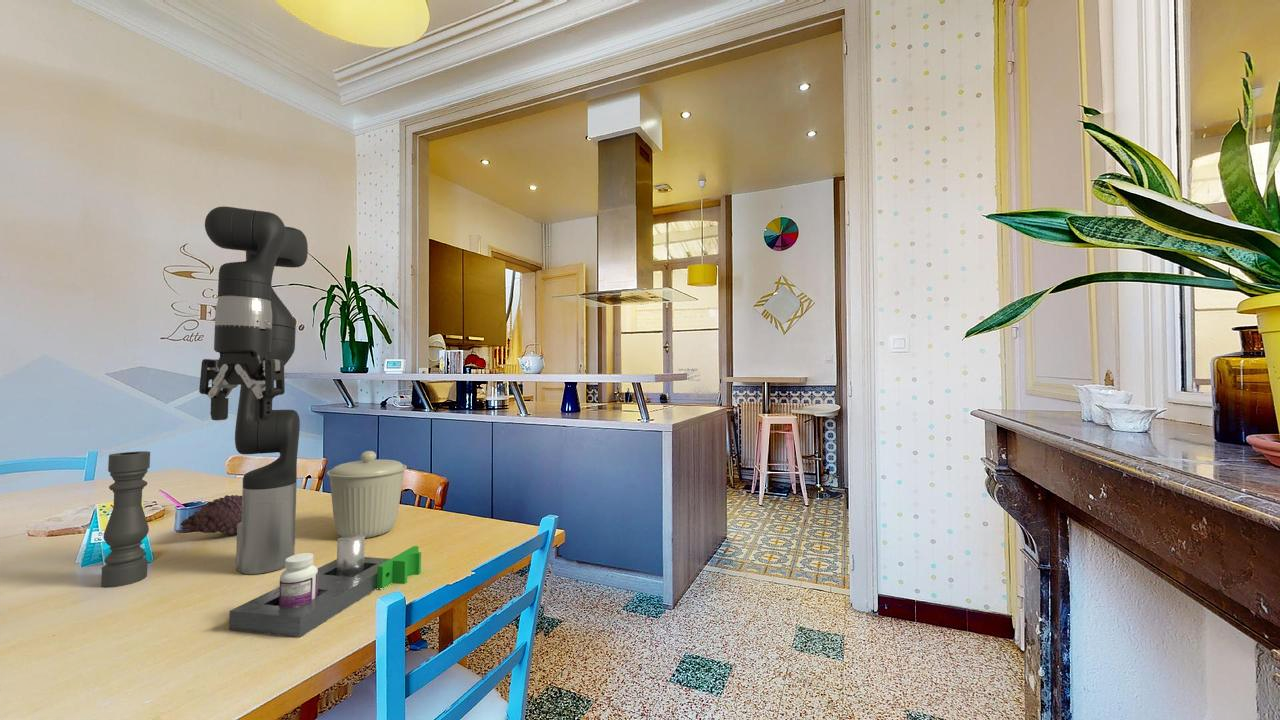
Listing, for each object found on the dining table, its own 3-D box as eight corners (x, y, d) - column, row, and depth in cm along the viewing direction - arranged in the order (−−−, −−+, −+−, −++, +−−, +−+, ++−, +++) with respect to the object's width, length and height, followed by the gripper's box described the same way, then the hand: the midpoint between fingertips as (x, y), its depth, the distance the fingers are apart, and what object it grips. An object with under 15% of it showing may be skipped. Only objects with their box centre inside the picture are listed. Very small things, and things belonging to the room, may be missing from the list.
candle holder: (153, 577, 96) (158, 452, 97) (109, 589, 90) (114, 457, 91) (138, 572, 99) (143, 450, 99) (95, 583, 93) (100, 454, 94)
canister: (306, 542, 116) (309, 455, 117) (361, 520, 134) (363, 445, 135) (372, 547, 113) (374, 458, 114) (419, 524, 131) (421, 447, 132)
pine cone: (184, 549, 111) (185, 506, 112) (175, 540, 117) (176, 499, 117) (276, 530, 125) (277, 492, 126) (263, 523, 131) (264, 486, 132)
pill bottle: (291, 606, 84) (293, 551, 85) (323, 605, 85) (324, 550, 85) (270, 622, 79) (272, 563, 79) (304, 621, 79) (306, 562, 80)
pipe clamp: (394, 592, 91) (394, 567, 91) (376, 590, 91) (377, 566, 91) (429, 568, 102) (429, 546, 102) (413, 566, 102) (413, 545, 103)
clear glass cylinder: (330, 588, 91) (331, 541, 92) (348, 578, 96) (349, 533, 96) (351, 590, 91) (352, 542, 91) (369, 580, 95) (370, 534, 95)
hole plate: (228, 629, 77) (229, 610, 77) (344, 569, 100) (344, 555, 100) (299, 637, 74) (300, 617, 75) (400, 574, 98) (400, 559, 98)
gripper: (185, 323, 79) (181, 421, 78) (259, 322, 77) (256, 423, 76) (230, 328, 86) (227, 418, 86) (299, 327, 84) (296, 419, 84)
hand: (240, 420), depth 81 cm, fingers open, 8 cm apart
